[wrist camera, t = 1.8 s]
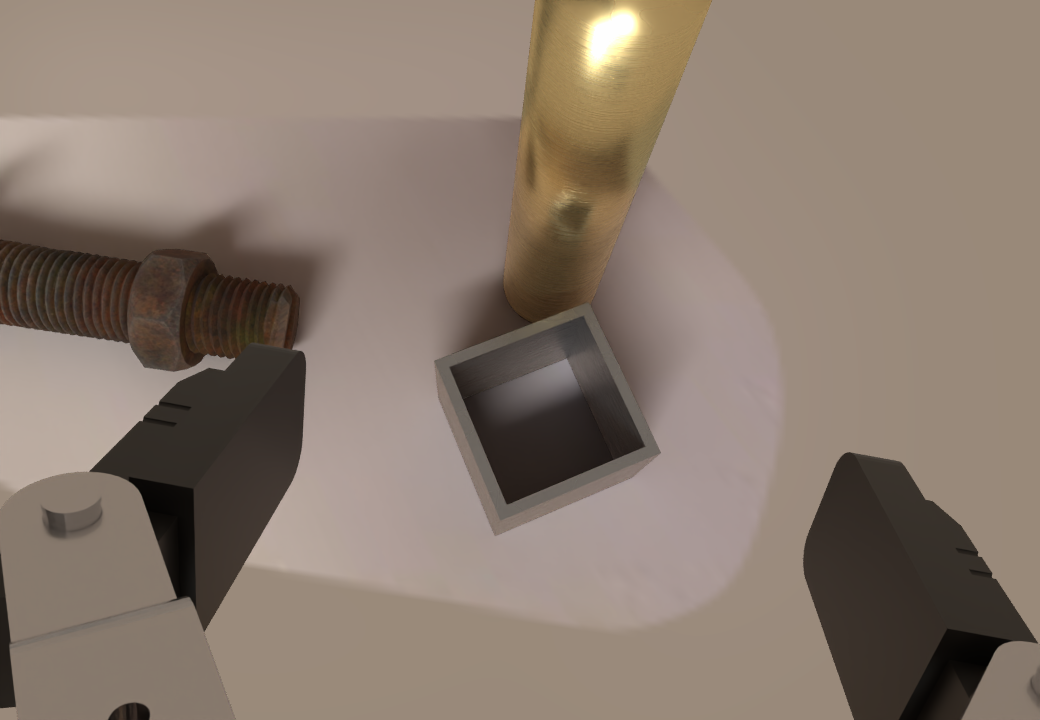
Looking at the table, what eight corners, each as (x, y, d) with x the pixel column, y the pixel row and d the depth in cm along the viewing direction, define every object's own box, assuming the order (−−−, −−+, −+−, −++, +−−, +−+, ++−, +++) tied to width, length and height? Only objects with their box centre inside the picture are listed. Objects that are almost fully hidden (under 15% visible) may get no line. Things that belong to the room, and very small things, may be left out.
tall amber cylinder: (525, 339, 34) (585, 58, 17) (488, 259, 35) (511, -83, 18) (610, 307, 35) (750, 6, 18) (572, 229, 36) (670, -127, 19)
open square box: (494, 535, 32) (500, 520, 27) (438, 398, 33) (434, 360, 28) (632, 477, 33) (660, 452, 28) (571, 346, 34) (589, 302, 30)
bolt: (303, 372, 35) (-52, 318, 34) (316, 256, 34) (-50, 198, 33) (264, 408, 29) (-163, 344, 29) (278, 270, 28) (-164, 200, 28)
